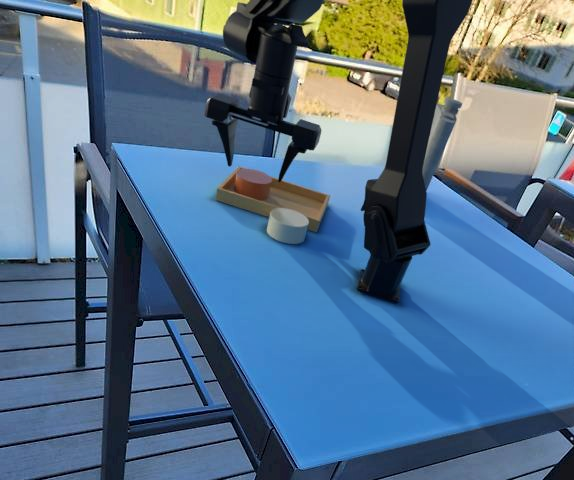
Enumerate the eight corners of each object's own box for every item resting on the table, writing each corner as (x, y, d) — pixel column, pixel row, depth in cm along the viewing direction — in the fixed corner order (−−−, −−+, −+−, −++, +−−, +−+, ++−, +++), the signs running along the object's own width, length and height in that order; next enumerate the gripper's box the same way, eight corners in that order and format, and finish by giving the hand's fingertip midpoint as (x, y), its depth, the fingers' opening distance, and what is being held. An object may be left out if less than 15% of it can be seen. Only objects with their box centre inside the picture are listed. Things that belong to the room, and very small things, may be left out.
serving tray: (316, 232, 83) (319, 221, 82) (215, 200, 84) (217, 188, 82) (327, 205, 93) (330, 195, 92) (236, 177, 93) (238, 166, 92)
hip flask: (403, 184, 114) (440, 89, 101) (419, 189, 114) (459, 95, 101) (403, 208, 102) (445, 104, 89) (421, 214, 102) (466, 111, 89)
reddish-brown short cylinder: (264, 204, 86) (267, 187, 84) (229, 192, 86) (232, 175, 84) (272, 192, 90) (275, 176, 88) (239, 181, 90) (242, 165, 89)
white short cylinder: (300, 248, 78) (305, 230, 76) (262, 236, 78) (266, 218, 76) (307, 232, 83) (312, 216, 81) (271, 221, 83) (275, 204, 81)
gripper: (336, 83, 82) (312, 176, 92) (231, 49, 82) (218, 146, 92) (327, 94, 73) (301, 195, 84) (209, 57, 73) (198, 162, 84)
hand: (254, 173), depth 86 cm, fingers open, 9 cm apart
